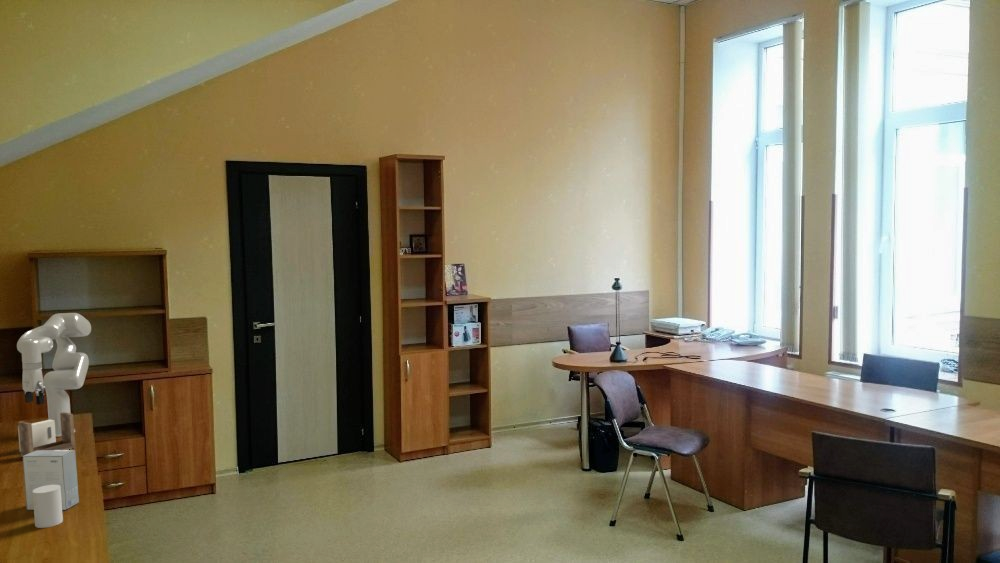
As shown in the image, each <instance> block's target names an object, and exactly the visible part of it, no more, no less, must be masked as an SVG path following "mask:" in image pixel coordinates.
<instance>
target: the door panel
mask: <svg viewBox="0 0 1000 563" xmlns="http://www.w3.org/2000/svg"><path fill="white" fill-rule="evenodd" d="M17 432H18V434H19V426H17ZM32 437H33V448H34V447H38V446H42V445H46V444H50V443H54V442H57V437H56V434H55V420H49V419H46V420H41V421H37V422H32ZM18 445H19V446H18V447H19V448H20V437H19V436H18ZM20 452H21V450H20V449H19V453H20Z"/></svg>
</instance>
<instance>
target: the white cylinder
mask: <svg viewBox="0 0 1000 563" xmlns="http://www.w3.org/2000/svg"><path fill="white" fill-rule="evenodd" d="M33 504H34V510H33V514H34V516H33V517H34V518H33V519H34V526H35V528H38V529H39V528H40V529H43V528H51V527H54V526H57V525H60V524H61V523H63V522H64V517H63V510H62V501H61V487H60V485H46V486H42V487H38V488H36V489H34V490H33Z"/></svg>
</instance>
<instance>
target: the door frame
mask: <svg viewBox="0 0 1000 563" xmlns="http://www.w3.org/2000/svg"><path fill="white" fill-rule="evenodd" d="M70 413H71V412H70ZM70 413H65V412H62V413H60V418H61V433H62V436H61V440H59V441H56V442H54V443H50V444H46V445H42V446H38V447H34V448H33V437H32V423H33V422H32V423H31V422H28V421H23V420H21V421H18V427H19V433H18V438H19V437H20V447H19V451H20V450H21V453H20V458H21V457H23V456H24V455H27V454H29V453H31V452H34V451H36V450H69V449H70V450H73V449H72V448H74V449H76V441H75V440H76V439H75V438H76V436H75V433H74V429H75V426H74V425H75V424H74V423H75V422H74V421H75V420H74V414H73V413H71V414H70Z"/></svg>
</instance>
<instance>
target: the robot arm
mask: <svg viewBox="0 0 1000 563" xmlns="http://www.w3.org/2000/svg"><path fill="white" fill-rule="evenodd" d="M91 333H92V325H91V323H90V321H89V319H86V318H85V317H84V316H83V315H82V314H80V313H78V312H66V313H65V312H63V313H61V312H60V313H59V312H58V313H55V314H53V315H51V316H50V317H49V319H48V320H47V321H45V323H43V325H40V326H37V327H35V328H32V329H30V330H27V331H26V332H24V334H22V335H21V336H20V338H19V339H18V341H17V343H16V349H17V351H18V352H19V353H20V354H21V362H22V376H21V377H22V380H21V381H22V382H21V383H22V390H23V391H24V399H25V400H24V402H25V403H27V404H28V403H32V402H34V393H35V395H36V396H35V401H36V402H35V403H36V405H38V406H39V405H44V404H45V394H46V403H47V405H46V406H47V413H48V414H47V415H48V418H47V420H55V434H56V438H58V437H59V438H60V437H62V433H61V418H60V413H62V412H65V413H70V414H72V413H71V403H70V402H71V401H70V396H69V394H68V393H67V390H77V389H80V388H82V387H83V386H84V383H85V380H86V376H87V373H88V369H89V365H90V360H89V356H88V354H86V353H85V352H77V346H76V344H75V343H74V342H73V341H72V340H71V339H70V338H80V337H81V338H82V337H87V336H89V335H90V334H91ZM53 340H54V341H55V342H56V345H57V346H56V347H57V348H56V352H55V354H54V357H53V360H52V366H51V367H52V369H53V370H51V371H49V372H46V374H45V375H44V376H43V371H42V370H43V364H42V363H43V360H42V359H43V358H42V354H45V353H48V352H50V351H52V349H53V347H54V341H53ZM75 433H76V429H75V428H74V434H75Z"/></svg>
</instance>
